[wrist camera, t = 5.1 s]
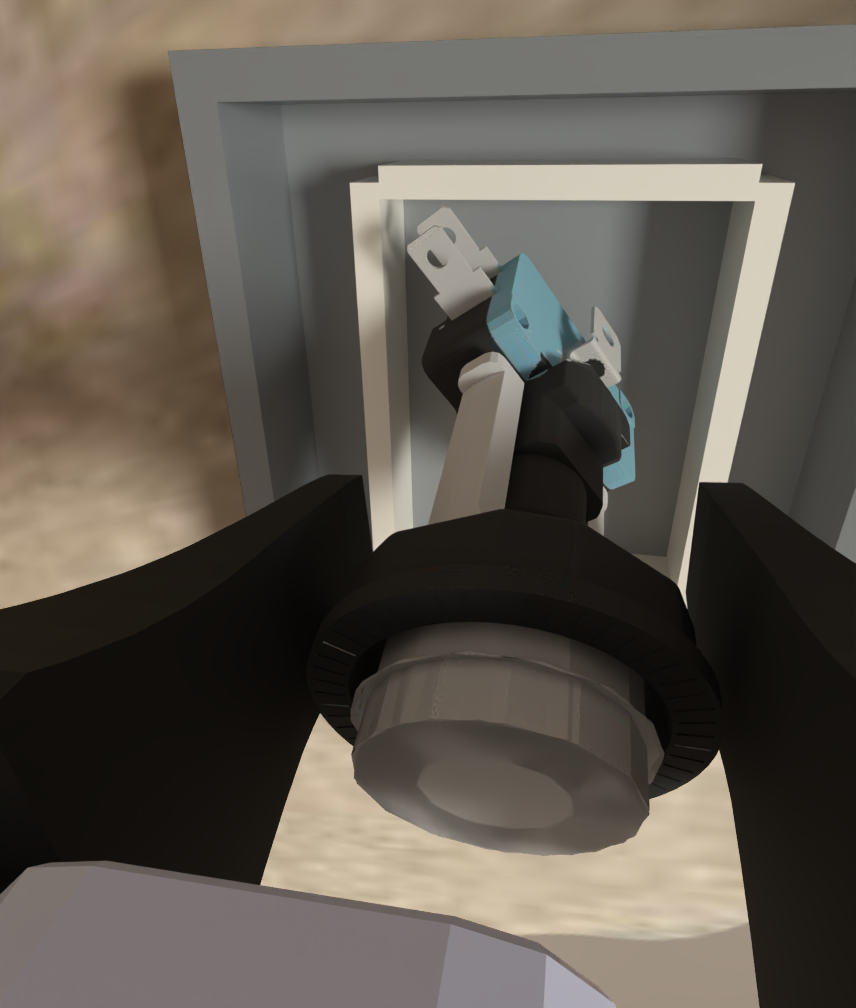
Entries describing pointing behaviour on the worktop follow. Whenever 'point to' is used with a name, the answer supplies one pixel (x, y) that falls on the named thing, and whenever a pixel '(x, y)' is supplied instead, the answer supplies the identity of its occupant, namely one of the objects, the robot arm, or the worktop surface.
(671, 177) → the cream rectangular frame
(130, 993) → the robot arm
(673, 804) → the worktop surface
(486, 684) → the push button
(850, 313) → the grey square tray
